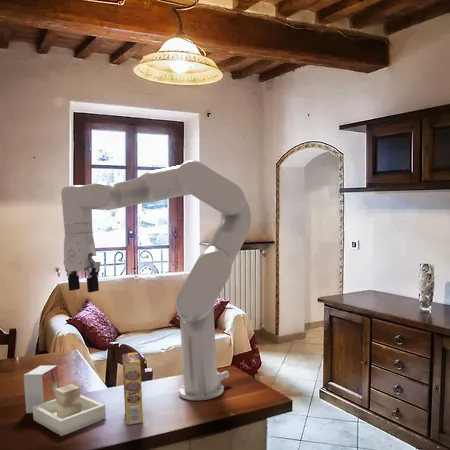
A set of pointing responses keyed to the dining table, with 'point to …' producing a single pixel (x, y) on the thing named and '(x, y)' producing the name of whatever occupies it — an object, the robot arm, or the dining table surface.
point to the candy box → (132, 388)
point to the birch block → (67, 401)
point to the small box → (40, 386)
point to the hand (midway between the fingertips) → (83, 290)
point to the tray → (86, 417)
